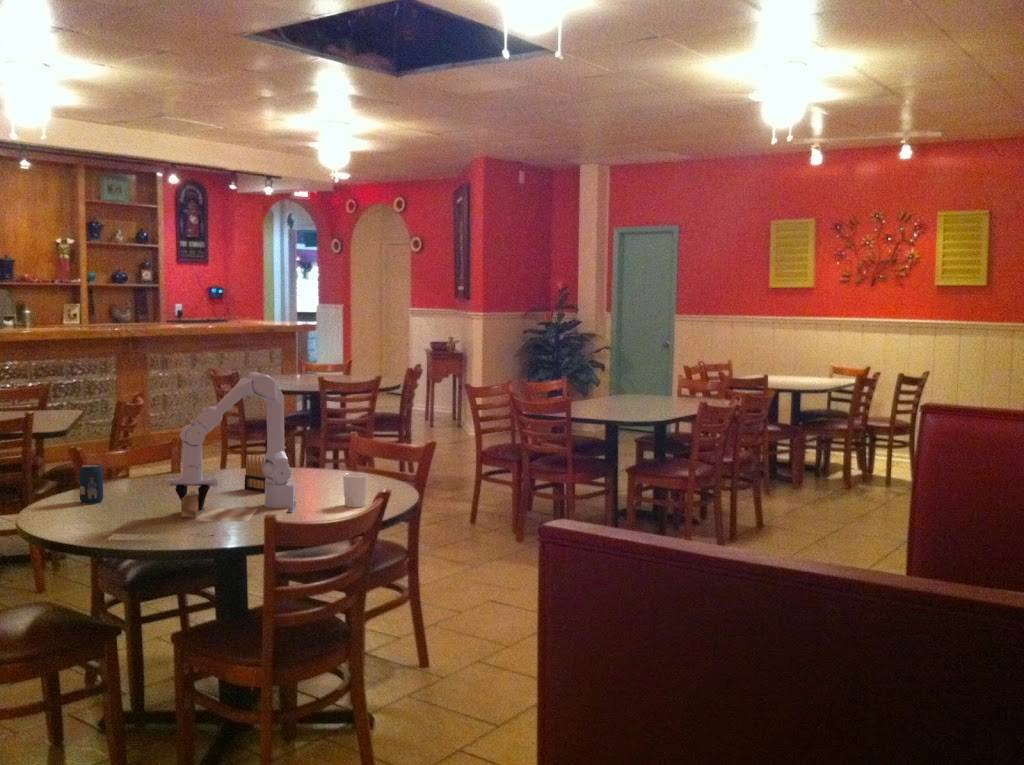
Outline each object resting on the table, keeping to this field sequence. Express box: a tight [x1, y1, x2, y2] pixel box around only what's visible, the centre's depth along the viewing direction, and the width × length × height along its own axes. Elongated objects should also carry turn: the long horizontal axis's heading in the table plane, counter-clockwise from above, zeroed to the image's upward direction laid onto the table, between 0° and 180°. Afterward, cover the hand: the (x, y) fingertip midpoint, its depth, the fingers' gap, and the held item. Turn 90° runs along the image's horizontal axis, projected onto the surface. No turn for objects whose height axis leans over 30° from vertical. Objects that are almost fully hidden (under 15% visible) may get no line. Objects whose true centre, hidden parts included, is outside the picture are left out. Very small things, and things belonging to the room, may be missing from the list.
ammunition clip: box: [244, 454, 266, 494], centre depth 345 cm, size 11×2×12 cm, turn 60°
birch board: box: [185, 508, 258, 522], centre depth 304 cm, size 18×16×2 cm
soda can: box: [78, 463, 104, 505], centre depth 323 cm, size 7×7×12 cm
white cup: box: [342, 472, 369, 508], centre depth 326 cm, size 8×8×10 cm
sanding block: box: [180, 490, 206, 520], centre depth 303 cm, size 4×12×6 cm, turn 4°
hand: (193, 509), depth 303 cm, fingers closed on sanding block, 4 cm apart
